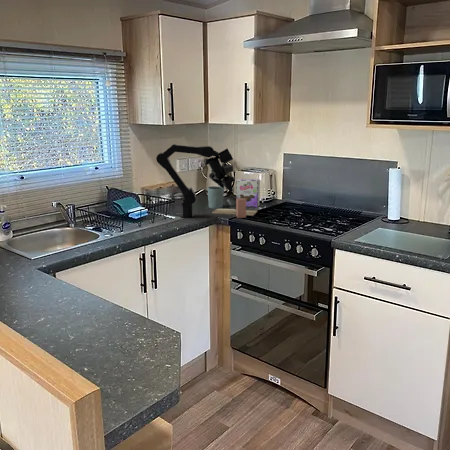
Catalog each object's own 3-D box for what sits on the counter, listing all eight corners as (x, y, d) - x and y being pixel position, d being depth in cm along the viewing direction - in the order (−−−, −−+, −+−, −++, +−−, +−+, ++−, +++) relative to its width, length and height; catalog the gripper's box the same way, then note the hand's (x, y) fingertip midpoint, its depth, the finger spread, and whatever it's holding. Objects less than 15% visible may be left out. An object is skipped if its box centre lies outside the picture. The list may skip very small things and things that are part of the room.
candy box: (235, 206, 292) (235, 179, 288) (238, 204, 298) (238, 178, 294) (257, 207, 288) (257, 180, 285) (259, 205, 294) (260, 178, 290)
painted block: (246, 217, 261) (246, 199, 259) (238, 217, 260) (238, 199, 258) (244, 215, 265) (244, 198, 263) (236, 216, 264) (236, 198, 262)
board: (253, 215, 265) (253, 214, 265) (212, 213, 271) (212, 212, 271) (257, 211, 277) (257, 210, 277) (217, 209, 283) (217, 208, 283)
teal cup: (207, 205, 295) (207, 186, 292) (224, 205, 295) (223, 186, 292) (207, 208, 285) (207, 189, 282) (224, 208, 285) (224, 188, 283)
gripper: (236, 162, 254) (247, 185, 262) (218, 155, 269) (229, 177, 277) (220, 174, 251) (232, 197, 259) (203, 166, 266) (215, 188, 274)
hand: (227, 189), depth 268 cm, fingers open, 9 cm apart
